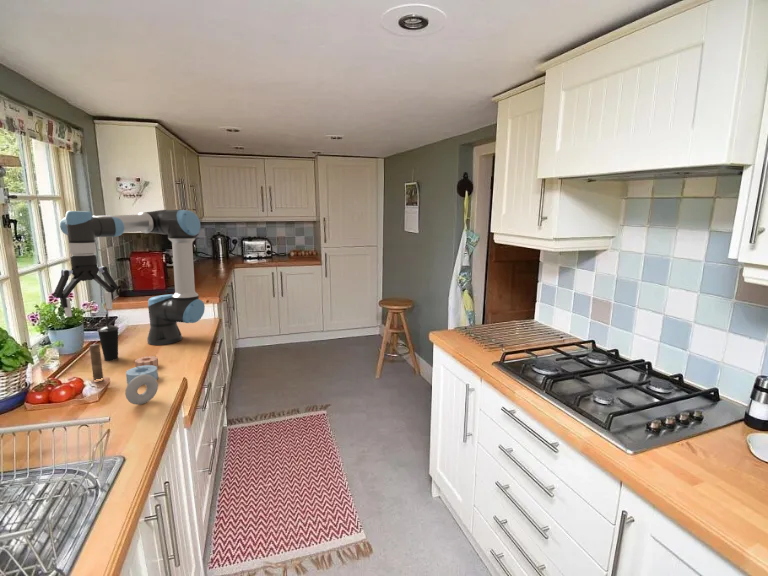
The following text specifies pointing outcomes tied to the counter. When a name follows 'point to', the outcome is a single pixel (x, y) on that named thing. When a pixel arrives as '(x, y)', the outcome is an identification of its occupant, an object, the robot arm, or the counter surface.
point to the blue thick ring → (141, 372)
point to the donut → (136, 383)
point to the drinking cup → (109, 341)
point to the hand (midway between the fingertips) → (89, 312)
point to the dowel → (96, 361)
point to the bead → (147, 361)
